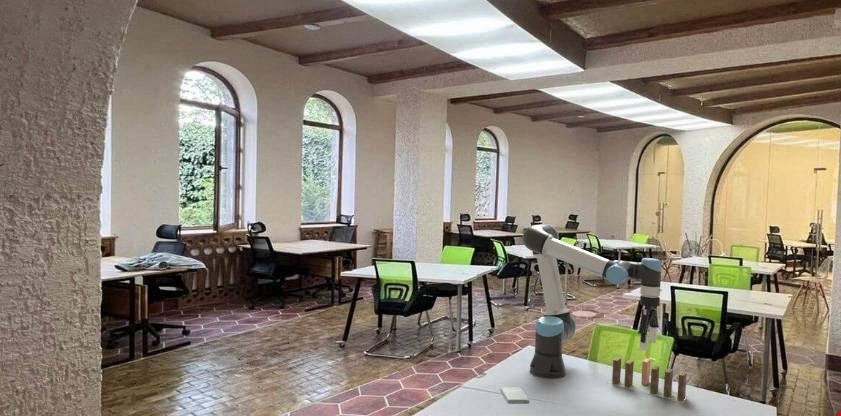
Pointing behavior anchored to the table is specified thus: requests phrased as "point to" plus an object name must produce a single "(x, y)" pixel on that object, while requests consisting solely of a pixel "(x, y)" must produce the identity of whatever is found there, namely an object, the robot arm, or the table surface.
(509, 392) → the hard drive
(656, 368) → the domino
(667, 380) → the domino
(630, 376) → the domino
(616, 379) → the domino
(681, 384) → the domino
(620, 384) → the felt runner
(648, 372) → the domino
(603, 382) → the table surface
